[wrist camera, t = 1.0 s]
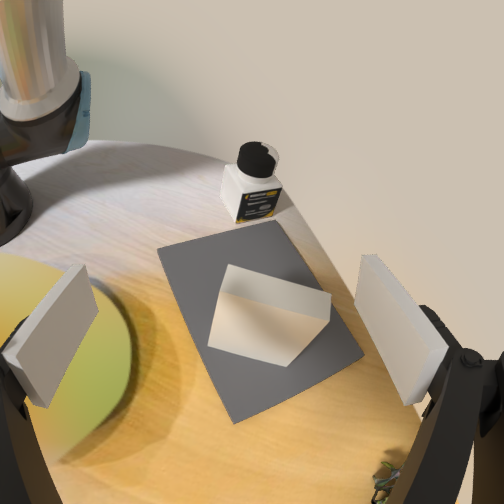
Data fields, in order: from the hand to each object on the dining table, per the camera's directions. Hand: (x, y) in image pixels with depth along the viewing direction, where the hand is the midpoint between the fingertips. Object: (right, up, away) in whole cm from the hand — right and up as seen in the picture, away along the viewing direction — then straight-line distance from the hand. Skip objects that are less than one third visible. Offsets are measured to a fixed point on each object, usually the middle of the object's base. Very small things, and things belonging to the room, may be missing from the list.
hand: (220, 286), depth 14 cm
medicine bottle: (0, +9, +40) cm, 41 cm away
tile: (+1, -10, +23) cm, 26 cm away
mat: (+2, -6, +28) cm, 29 cm away
